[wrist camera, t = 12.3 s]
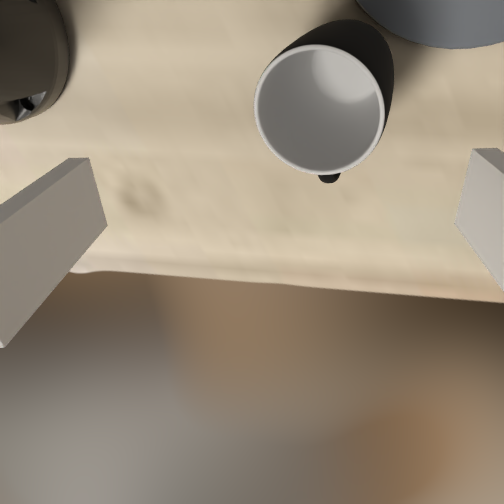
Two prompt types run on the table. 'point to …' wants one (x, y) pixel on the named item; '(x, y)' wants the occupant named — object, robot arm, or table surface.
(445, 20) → the flange base
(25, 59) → the robot arm
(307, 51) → the mug
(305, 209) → the table surface
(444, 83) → the table surface
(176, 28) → the table surface
